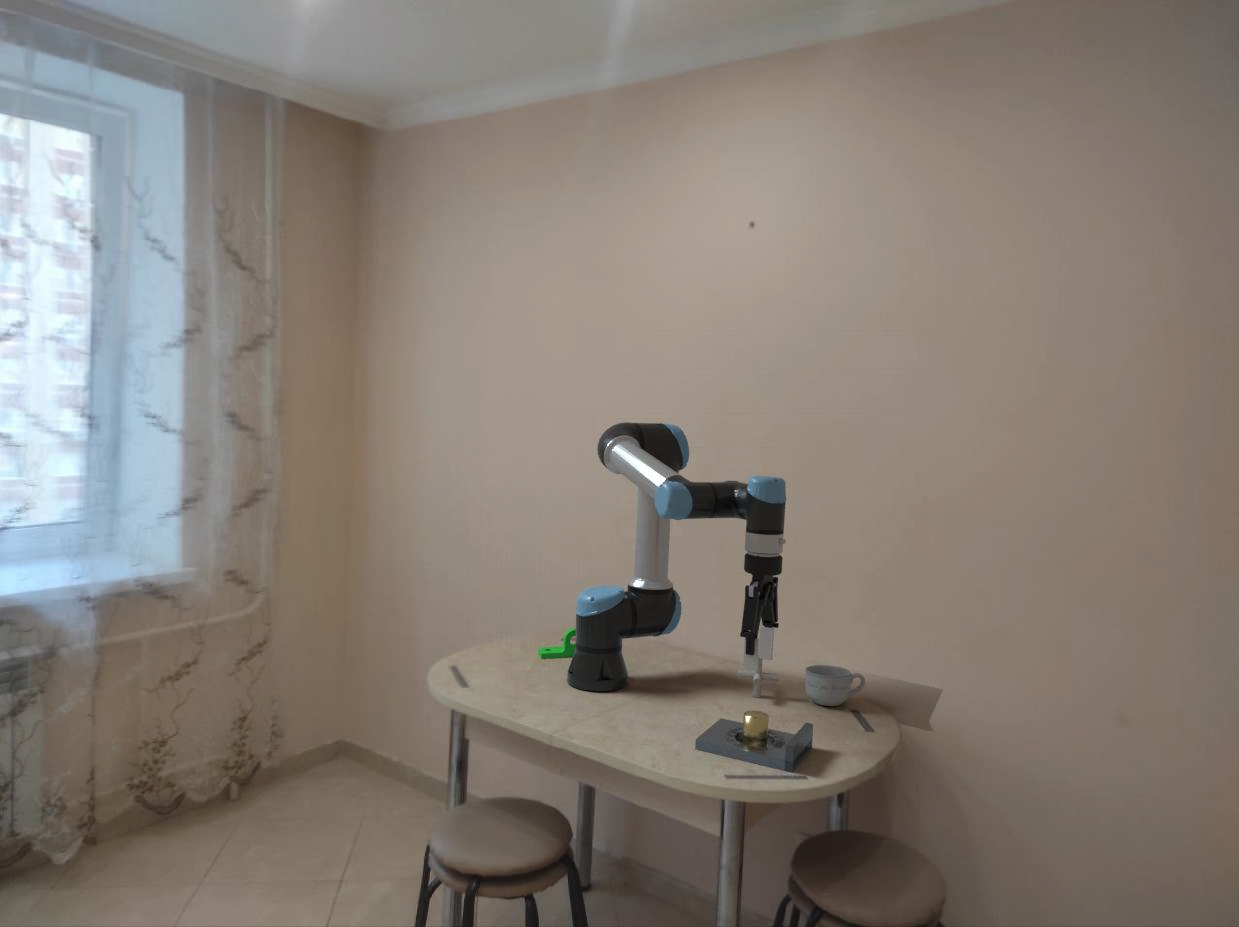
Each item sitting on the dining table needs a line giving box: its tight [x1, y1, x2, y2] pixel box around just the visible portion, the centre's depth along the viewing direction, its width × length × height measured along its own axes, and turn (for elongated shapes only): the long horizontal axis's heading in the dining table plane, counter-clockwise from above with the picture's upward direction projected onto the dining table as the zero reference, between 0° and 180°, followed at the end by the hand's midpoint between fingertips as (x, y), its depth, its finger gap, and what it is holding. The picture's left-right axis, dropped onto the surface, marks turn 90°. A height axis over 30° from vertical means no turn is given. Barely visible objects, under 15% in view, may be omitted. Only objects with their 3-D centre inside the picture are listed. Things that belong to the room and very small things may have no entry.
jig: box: [694, 717, 814, 773], centre depth 169 cm, size 20×14×5 cm
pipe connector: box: [736, 655, 780, 699], centre depth 200 cm, size 10×10×10 cm
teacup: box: [804, 664, 866, 707], centre depth 198 cm, size 14×11×8 cm
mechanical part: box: [537, 627, 576, 660], centre depth 228 cm, size 12×6×8 cm, turn 109°
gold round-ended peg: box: [741, 709, 770, 747], centre depth 168 cm, size 5×5×7 cm
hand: (758, 664), depth 168 cm, fingers open, 9 cm apart
